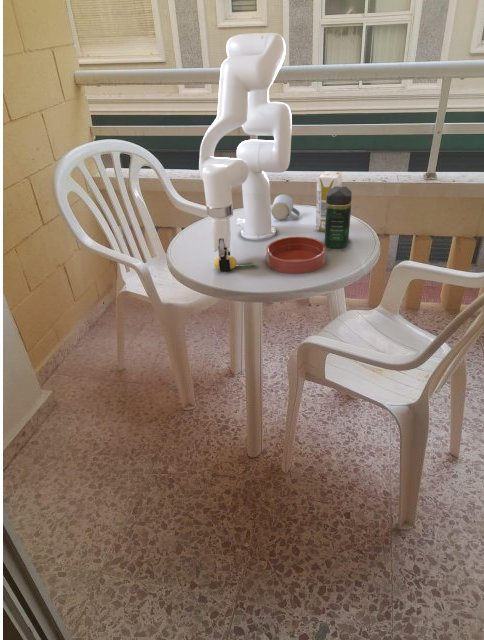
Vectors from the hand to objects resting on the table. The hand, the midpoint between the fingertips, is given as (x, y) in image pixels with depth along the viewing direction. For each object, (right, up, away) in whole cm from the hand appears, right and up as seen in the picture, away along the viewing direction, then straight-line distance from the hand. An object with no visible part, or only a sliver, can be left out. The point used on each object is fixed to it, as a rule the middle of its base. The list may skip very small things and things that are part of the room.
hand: (225, 266), depth 141 cm
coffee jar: (+37, +9, +11) cm, 39 cm away
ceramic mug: (+21, +24, +33) cm, 46 cm away
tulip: (+3, 0, +1) cm, 3 cm away
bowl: (+22, +2, +2) cm, 22 cm away
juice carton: (+36, +17, +22) cm, 46 cm away
